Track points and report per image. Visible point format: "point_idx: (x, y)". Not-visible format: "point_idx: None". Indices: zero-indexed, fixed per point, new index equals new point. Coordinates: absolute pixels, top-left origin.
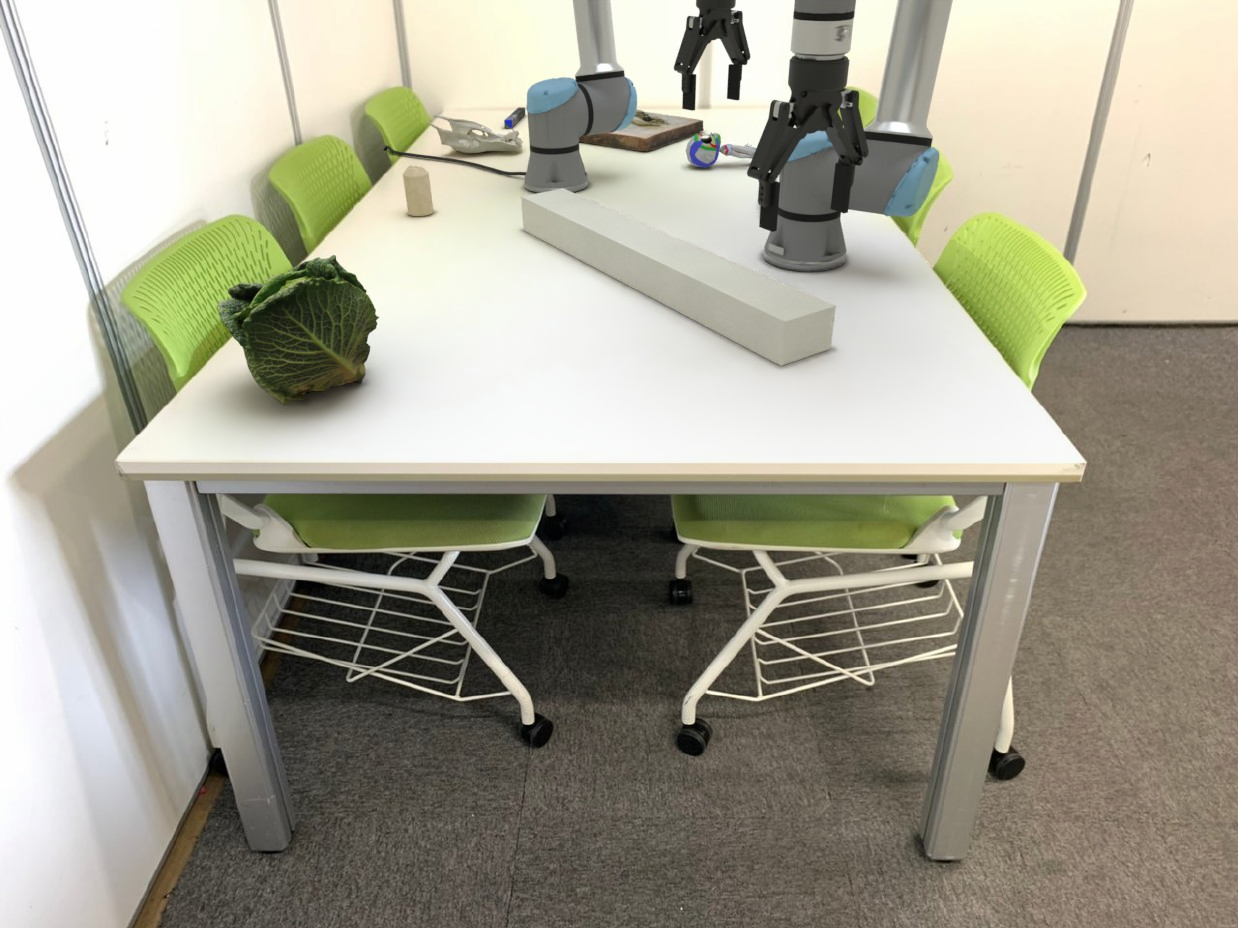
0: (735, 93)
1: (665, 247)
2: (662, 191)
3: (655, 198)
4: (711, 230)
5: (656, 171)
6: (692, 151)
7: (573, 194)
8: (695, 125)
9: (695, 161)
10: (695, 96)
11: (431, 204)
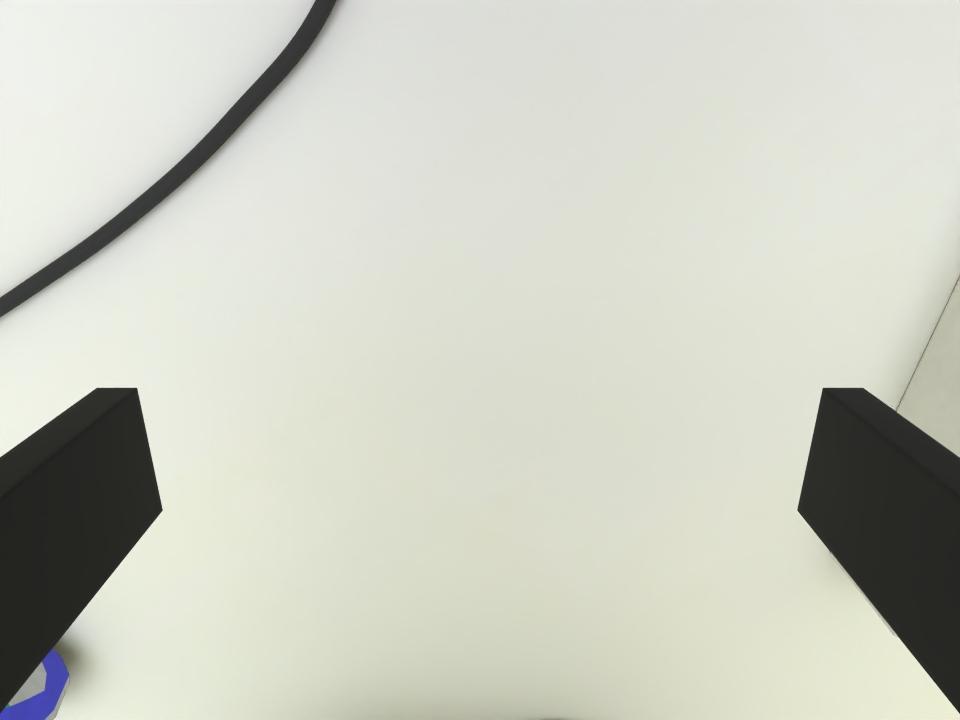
0: (103, 447)
1: None
2: (347, 561)
3: (428, 525)
4: (594, 109)
5: (194, 712)
6: (39, 710)
7: None
8: None
9: (56, 668)
10: (907, 456)
11: None
